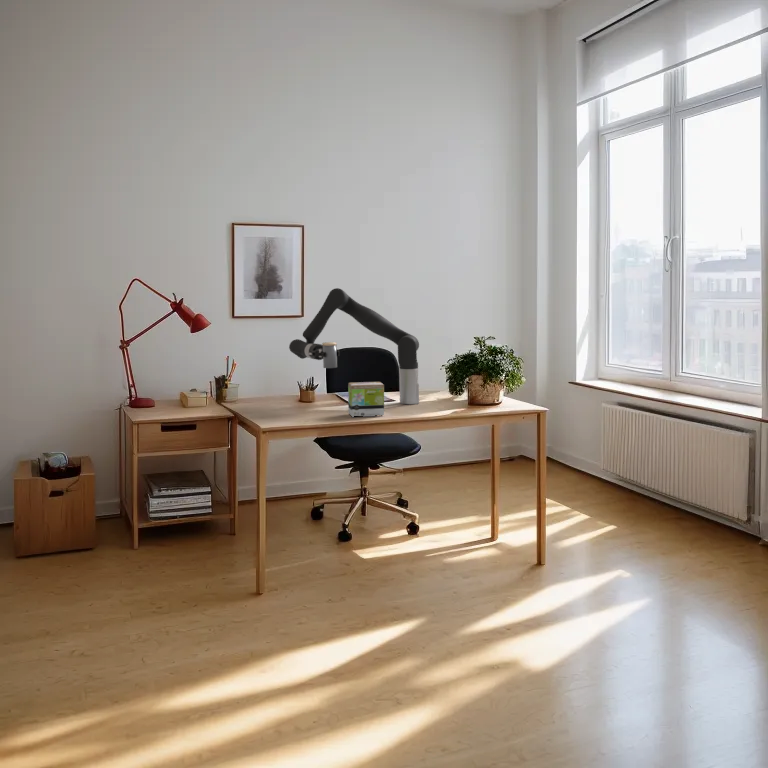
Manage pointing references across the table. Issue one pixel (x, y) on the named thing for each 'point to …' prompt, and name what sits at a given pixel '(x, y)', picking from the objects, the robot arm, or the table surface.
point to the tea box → (365, 399)
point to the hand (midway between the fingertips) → (332, 354)
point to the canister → (330, 355)
